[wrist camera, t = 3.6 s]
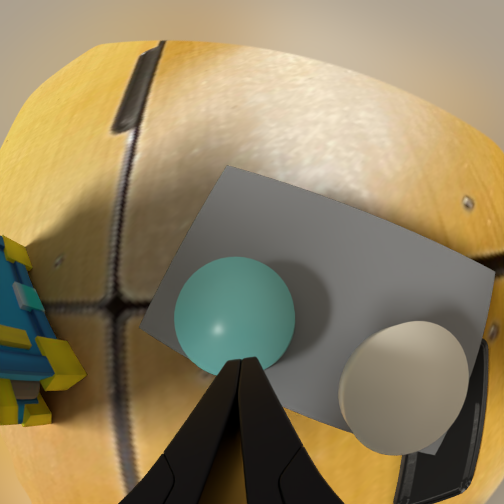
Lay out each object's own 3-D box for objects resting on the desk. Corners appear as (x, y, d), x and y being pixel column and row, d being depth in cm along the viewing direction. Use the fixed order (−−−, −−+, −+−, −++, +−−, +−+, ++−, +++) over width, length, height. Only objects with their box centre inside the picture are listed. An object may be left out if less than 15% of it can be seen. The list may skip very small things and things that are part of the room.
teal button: (271, 385, 15) (260, 399, 11) (192, 344, 17) (155, 341, 12) (310, 302, 16) (315, 284, 12) (230, 268, 18) (207, 239, 14)
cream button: (398, 437, 11) (432, 465, 7) (313, 408, 13) (318, 433, 9) (437, 348, 13) (484, 343, 8) (356, 316, 14) (379, 300, 10)
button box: (395, 426, 17) (434, 455, 10) (187, 336, 22) (138, 327, 15) (444, 296, 19) (495, 271, 12) (248, 217, 24) (227, 165, 17)
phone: (393, 514, 13) (412, 349, 18) (390, 508, 14) (407, 349, 19) (469, 490, 12) (489, 335, 17) (464, 486, 13) (482, 336, 18)
